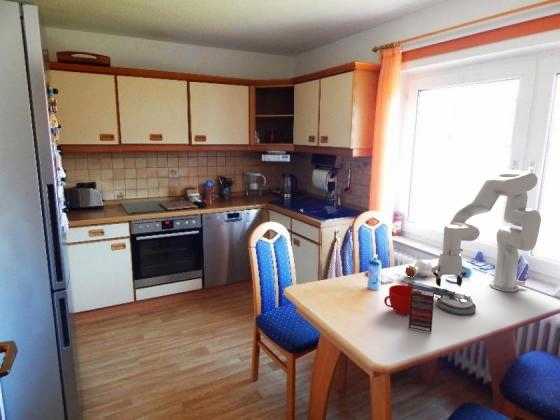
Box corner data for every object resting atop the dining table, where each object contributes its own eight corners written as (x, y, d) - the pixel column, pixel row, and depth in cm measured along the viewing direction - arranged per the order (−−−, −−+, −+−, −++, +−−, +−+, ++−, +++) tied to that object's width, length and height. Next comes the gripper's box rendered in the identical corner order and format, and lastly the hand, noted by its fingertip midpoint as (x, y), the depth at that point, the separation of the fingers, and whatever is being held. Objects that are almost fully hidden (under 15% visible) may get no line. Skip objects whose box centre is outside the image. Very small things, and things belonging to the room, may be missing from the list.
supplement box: (431, 328, 149) (435, 291, 146) (431, 334, 144) (434, 296, 141) (409, 324, 152) (411, 287, 149) (407, 329, 148) (410, 292, 145)
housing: (465, 299, 175) (465, 295, 175) (482, 315, 159) (483, 311, 159) (431, 299, 175) (431, 295, 175) (445, 315, 160) (445, 310, 159)
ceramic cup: (374, 310, 165) (375, 288, 163) (404, 303, 171) (405, 283, 169) (393, 323, 153) (395, 300, 151) (425, 315, 160) (427, 293, 158)
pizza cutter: (413, 286, 185) (414, 277, 184) (475, 301, 168) (476, 291, 167) (403, 294, 175) (404, 284, 174) (468, 312, 158) (469, 301, 157)
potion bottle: (431, 277, 207) (411, 284, 202) (421, 263, 213) (400, 270, 207) (439, 267, 201) (418, 275, 195) (428, 253, 207) (407, 260, 201)
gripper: (465, 248, 178) (463, 282, 182) (429, 249, 179) (427, 282, 182) (473, 253, 171) (470, 288, 174) (435, 253, 171) (433, 288, 175)
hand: (448, 285), depth 178 cm, fingers open, 9 cm apart
